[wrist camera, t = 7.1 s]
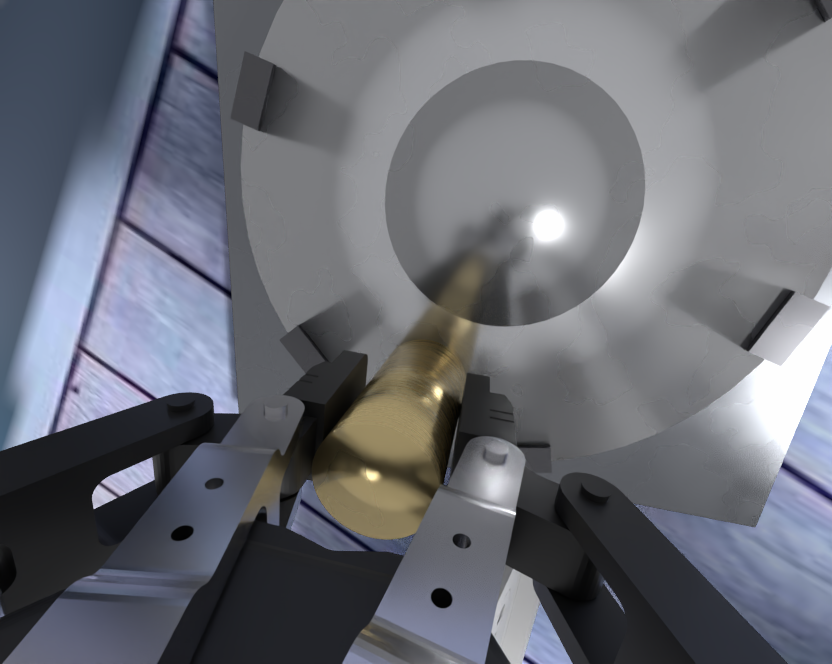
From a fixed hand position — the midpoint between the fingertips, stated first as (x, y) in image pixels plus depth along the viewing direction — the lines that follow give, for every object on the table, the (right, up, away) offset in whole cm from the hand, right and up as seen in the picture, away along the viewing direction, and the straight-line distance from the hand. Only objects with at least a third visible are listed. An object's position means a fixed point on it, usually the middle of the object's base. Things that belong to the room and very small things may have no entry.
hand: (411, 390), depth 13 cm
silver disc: (+4, +7, +2) cm, 8 cm away
